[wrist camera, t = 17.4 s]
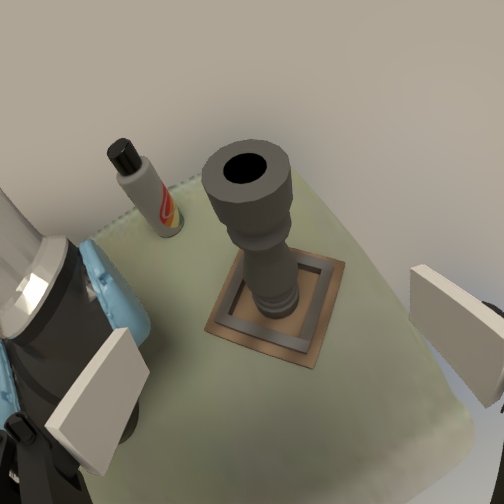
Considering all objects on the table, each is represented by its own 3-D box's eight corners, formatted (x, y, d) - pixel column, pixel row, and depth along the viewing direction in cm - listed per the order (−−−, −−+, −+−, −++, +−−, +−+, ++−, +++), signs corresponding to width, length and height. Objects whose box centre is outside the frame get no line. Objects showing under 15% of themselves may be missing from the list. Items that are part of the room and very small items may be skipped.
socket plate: (206, 331, 39) (199, 326, 36) (246, 239, 45) (243, 229, 42) (312, 369, 34) (314, 367, 31) (344, 265, 40) (347, 255, 38)
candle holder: (297, 321, 37) (292, 207, 15) (252, 317, 38) (186, 207, 16) (300, 278, 39) (295, 136, 18) (257, 276, 41) (209, 139, 19)
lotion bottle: (190, 216, 50) (142, 132, 32) (173, 242, 47) (115, 162, 30) (167, 209, 51) (118, 130, 34) (151, 233, 49) (92, 158, 32)
